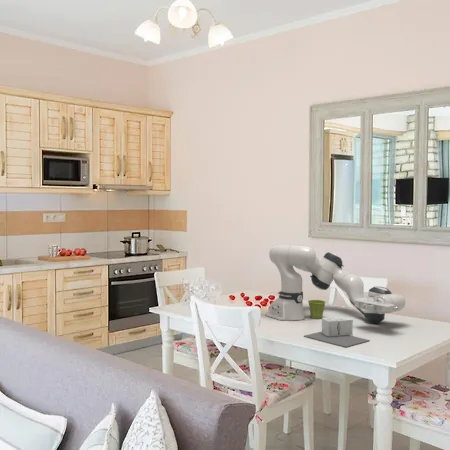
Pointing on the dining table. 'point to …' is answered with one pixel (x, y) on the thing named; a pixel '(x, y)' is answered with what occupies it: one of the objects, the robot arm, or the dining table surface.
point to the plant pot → (316, 308)
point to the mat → (337, 339)
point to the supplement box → (337, 326)
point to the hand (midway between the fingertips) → (364, 307)
